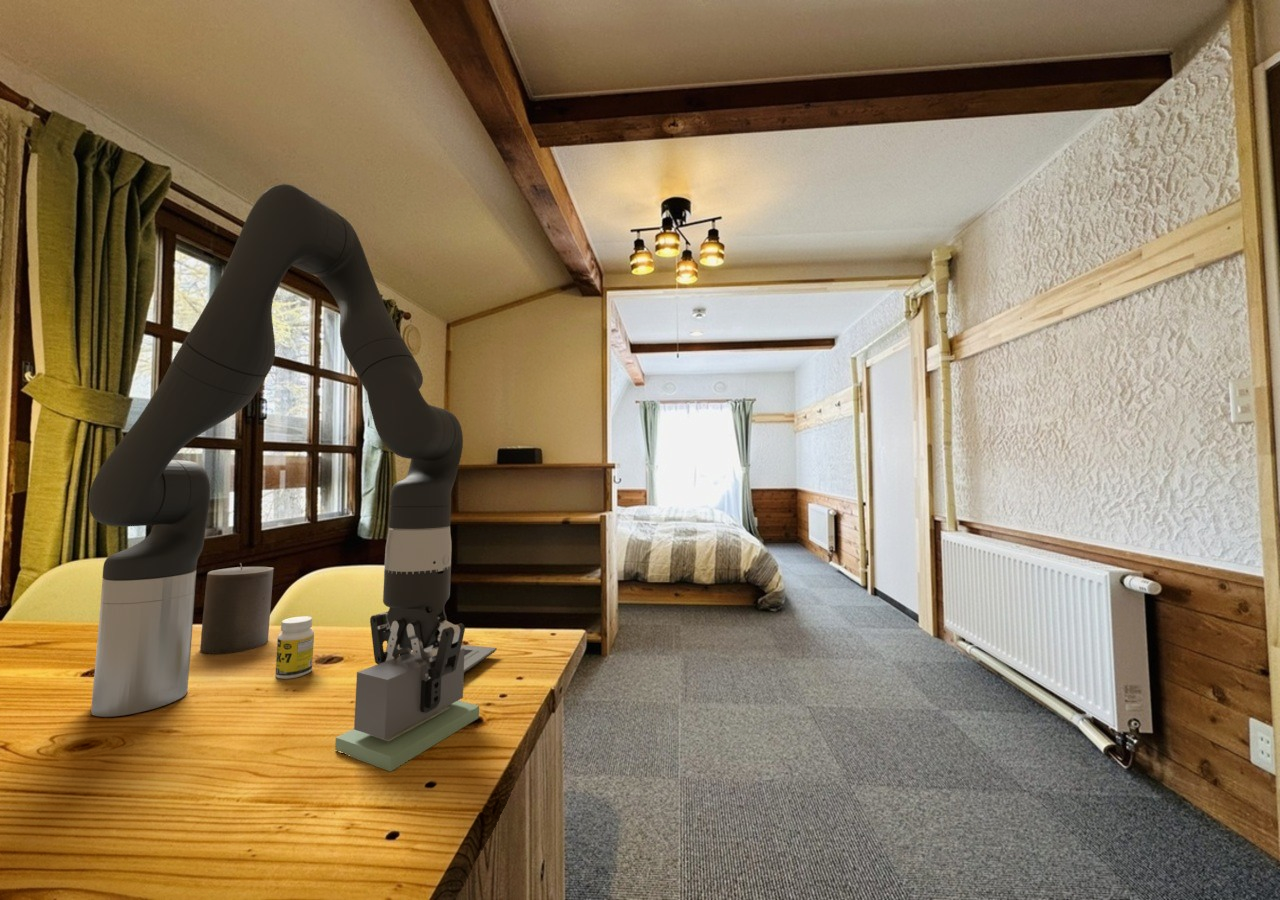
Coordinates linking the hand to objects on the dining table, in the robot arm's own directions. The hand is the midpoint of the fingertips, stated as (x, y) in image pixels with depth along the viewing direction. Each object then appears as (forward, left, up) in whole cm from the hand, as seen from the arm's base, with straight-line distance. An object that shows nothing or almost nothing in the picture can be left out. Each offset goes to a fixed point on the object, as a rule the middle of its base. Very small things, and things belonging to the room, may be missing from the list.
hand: (412, 704), depth 59 cm
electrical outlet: (-12, +17, -4) cm, 21 cm away
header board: (0, 0, -3) cm, 3 cm away
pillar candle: (-55, +9, -4) cm, 56 cm away
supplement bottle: (-32, +5, -4) cm, 33 cm away
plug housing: (0, 0, -1) cm, 1 cm away
